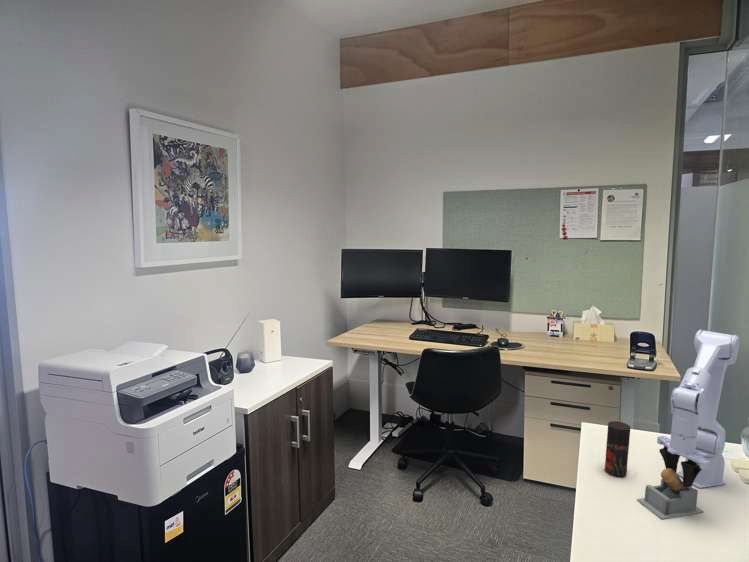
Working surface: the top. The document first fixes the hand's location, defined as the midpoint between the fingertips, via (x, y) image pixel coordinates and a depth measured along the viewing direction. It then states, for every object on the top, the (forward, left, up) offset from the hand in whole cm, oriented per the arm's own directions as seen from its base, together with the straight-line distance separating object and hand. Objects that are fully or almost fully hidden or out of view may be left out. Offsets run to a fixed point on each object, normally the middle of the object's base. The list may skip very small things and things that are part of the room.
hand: (679, 480), depth 129 cm
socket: (+2, 0, -7) cm, 7 cm away
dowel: (0, 0, -2) cm, 2 cm away
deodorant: (+4, -18, -7) cm, 20 cm away
